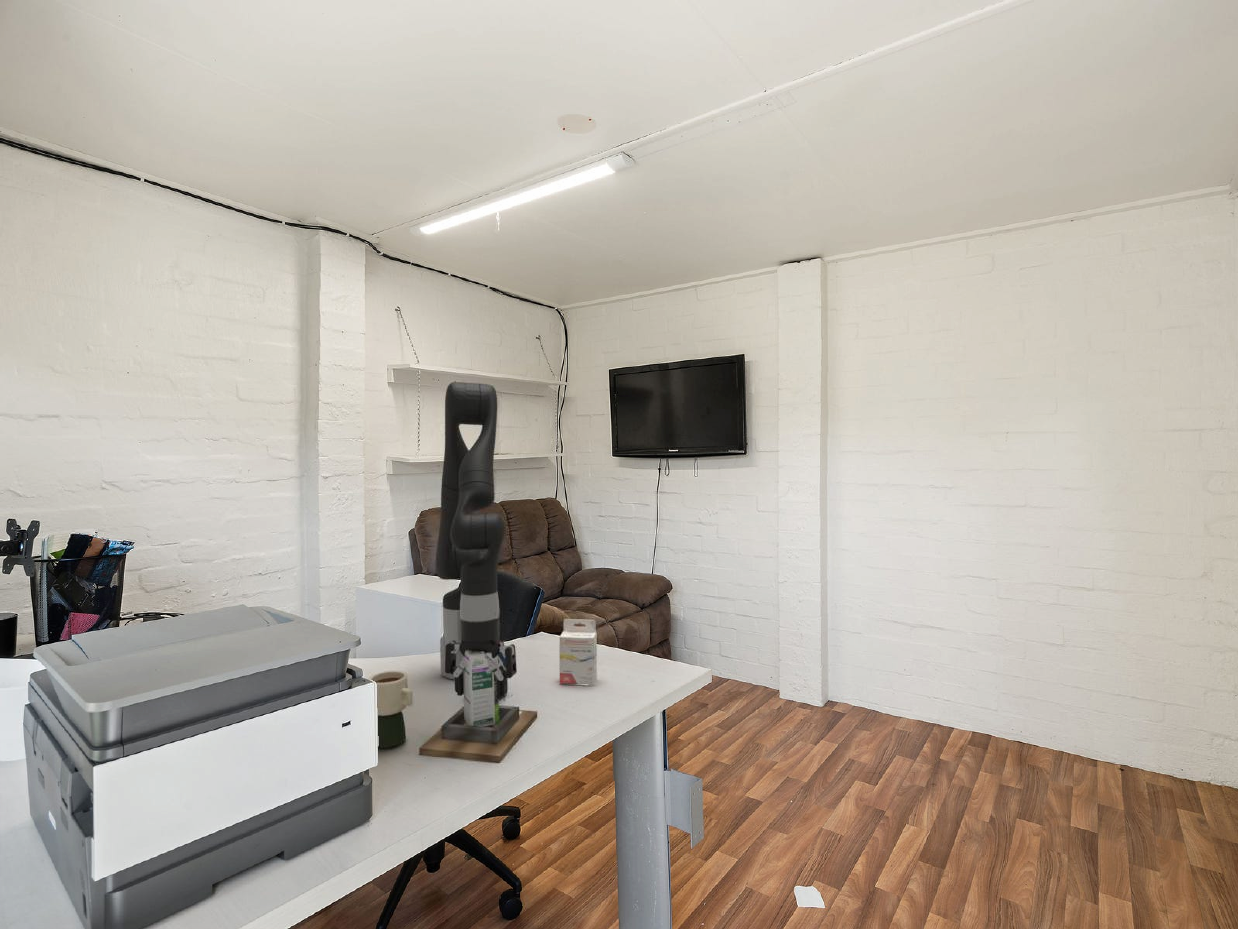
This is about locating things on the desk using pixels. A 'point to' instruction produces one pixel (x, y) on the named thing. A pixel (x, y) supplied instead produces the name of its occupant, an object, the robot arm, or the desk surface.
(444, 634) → the robot arm
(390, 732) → the character mug
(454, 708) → the desk surface
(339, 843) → the desk surface
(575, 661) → the ink cartridge box
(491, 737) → the base board
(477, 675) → the syrup box
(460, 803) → the desk surface
